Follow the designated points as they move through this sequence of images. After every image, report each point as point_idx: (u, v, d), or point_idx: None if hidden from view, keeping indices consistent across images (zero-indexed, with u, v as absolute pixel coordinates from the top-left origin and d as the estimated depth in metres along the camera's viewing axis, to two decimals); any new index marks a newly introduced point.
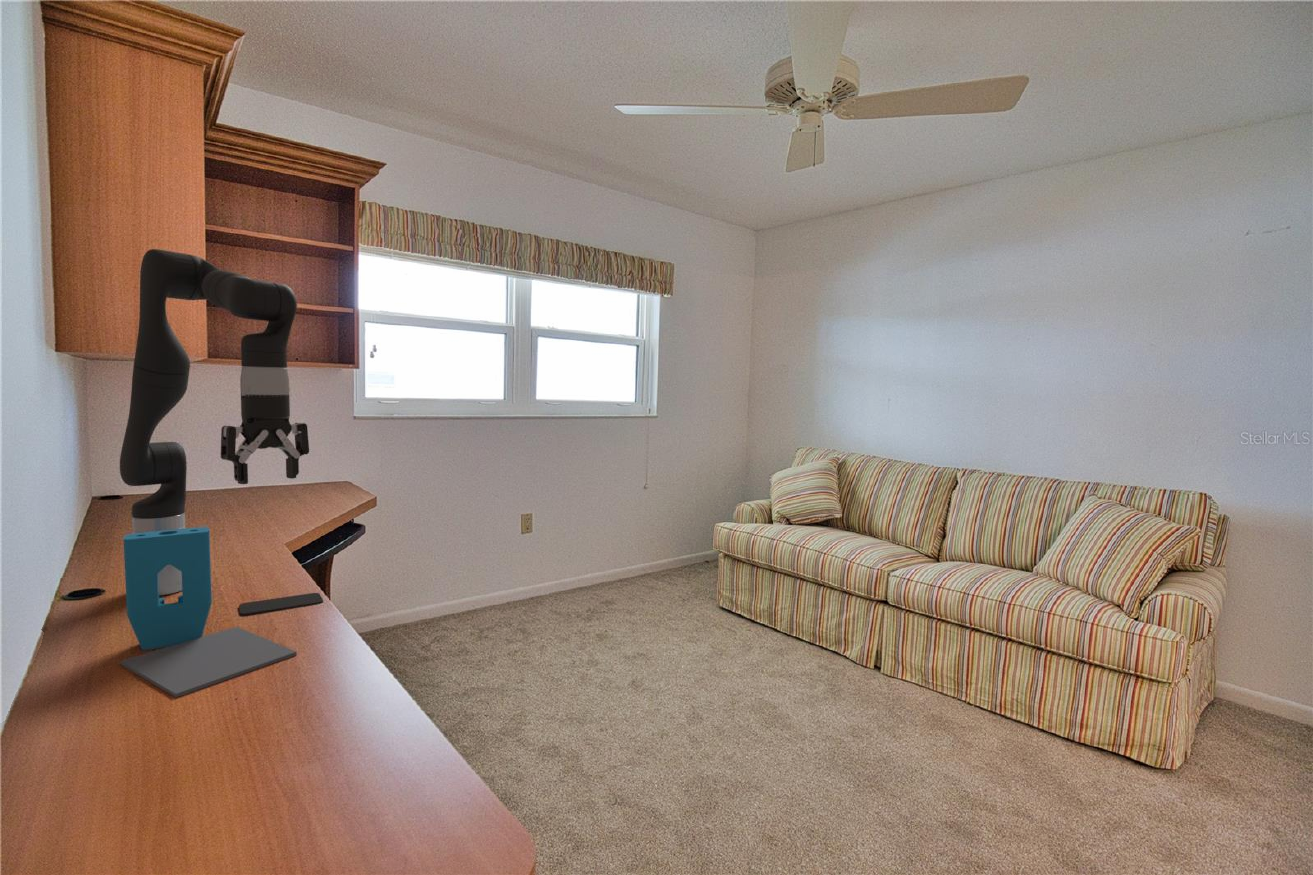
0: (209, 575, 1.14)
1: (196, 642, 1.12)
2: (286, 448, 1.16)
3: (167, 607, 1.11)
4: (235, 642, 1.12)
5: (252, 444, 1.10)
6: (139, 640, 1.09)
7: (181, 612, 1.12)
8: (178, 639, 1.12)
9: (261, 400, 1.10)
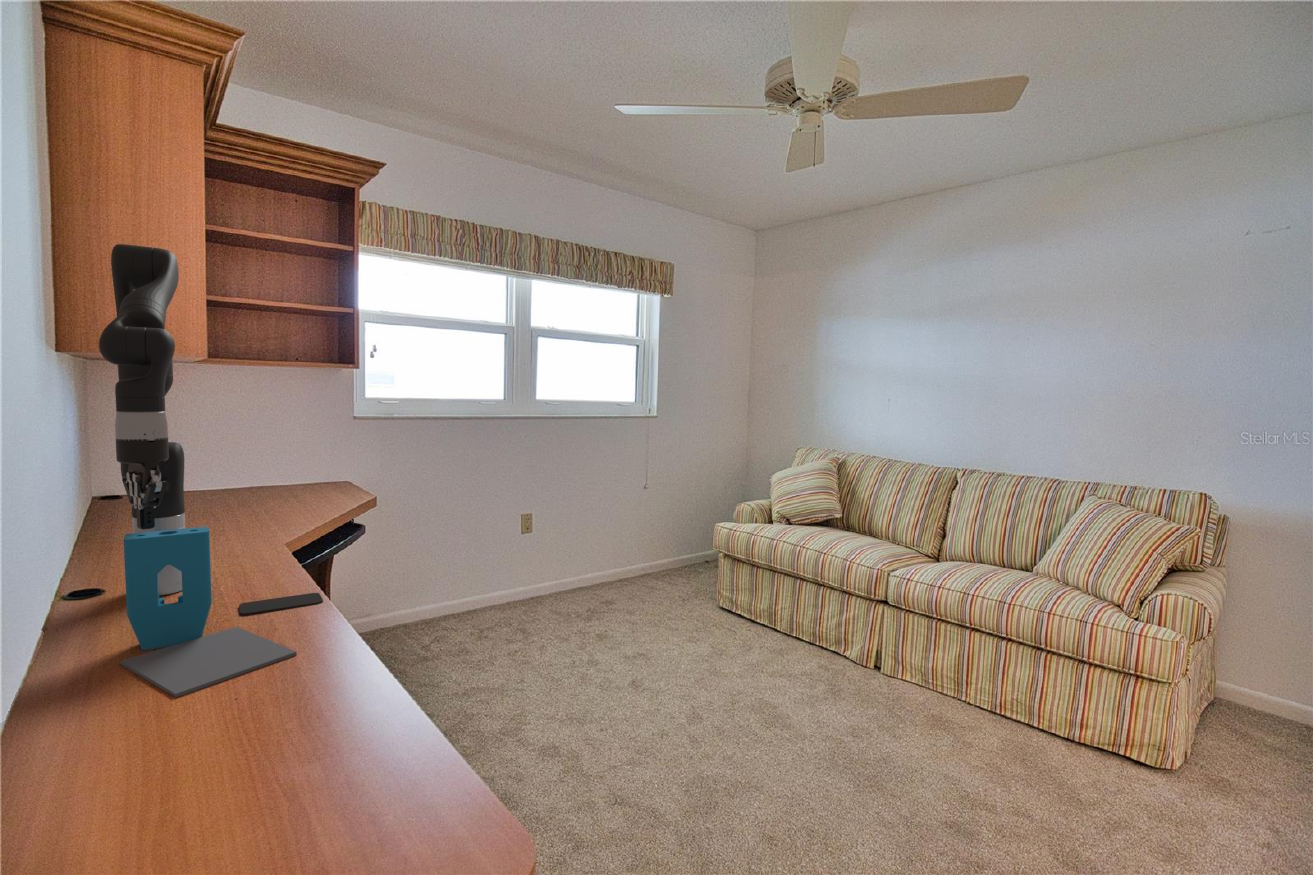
0: (209, 575, 1.14)
1: (196, 642, 1.12)
2: None
3: (167, 607, 1.11)
4: (235, 642, 1.12)
5: None
6: (139, 640, 1.09)
7: (181, 612, 1.12)
8: (178, 639, 1.12)
9: (167, 442, 1.17)
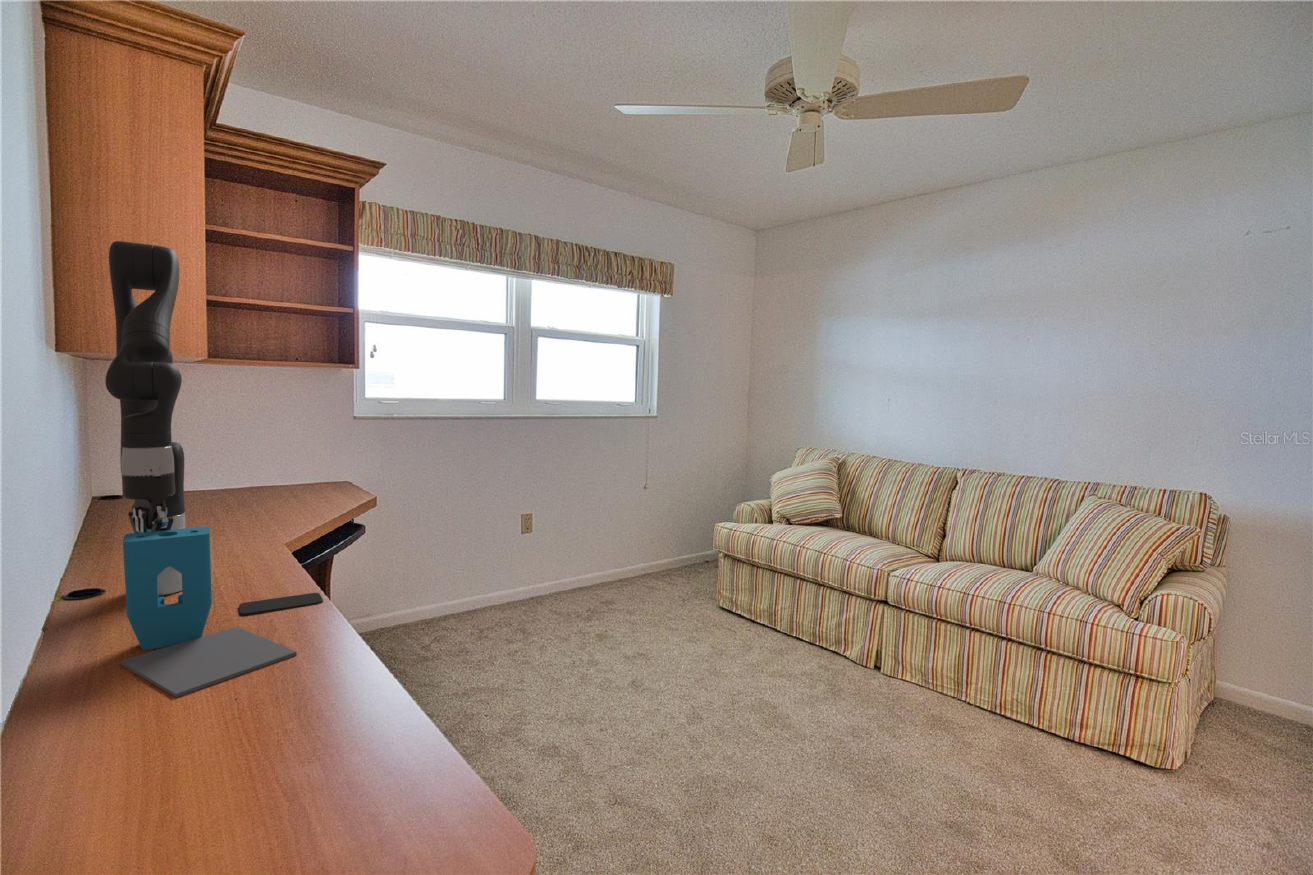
0: (209, 576, 1.14)
1: (196, 642, 1.12)
2: None
3: (167, 608, 1.10)
4: (235, 642, 1.12)
5: None
6: (139, 640, 1.09)
7: (181, 613, 1.12)
8: (178, 639, 1.12)
9: (173, 477, 1.16)
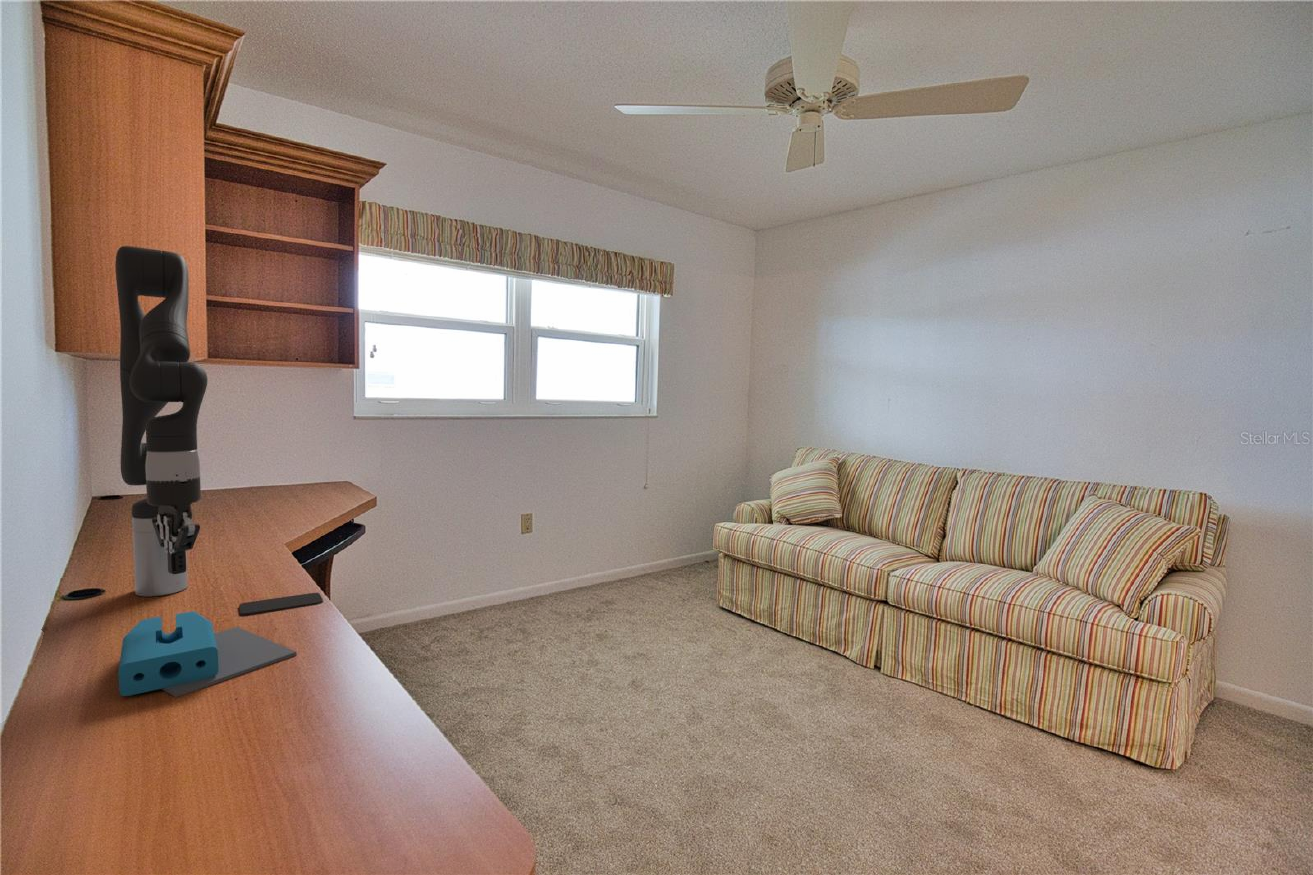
0: None
1: None
2: None
3: None
4: (235, 642, 1.12)
5: None
6: None
7: None
8: None
9: (199, 482, 1.11)
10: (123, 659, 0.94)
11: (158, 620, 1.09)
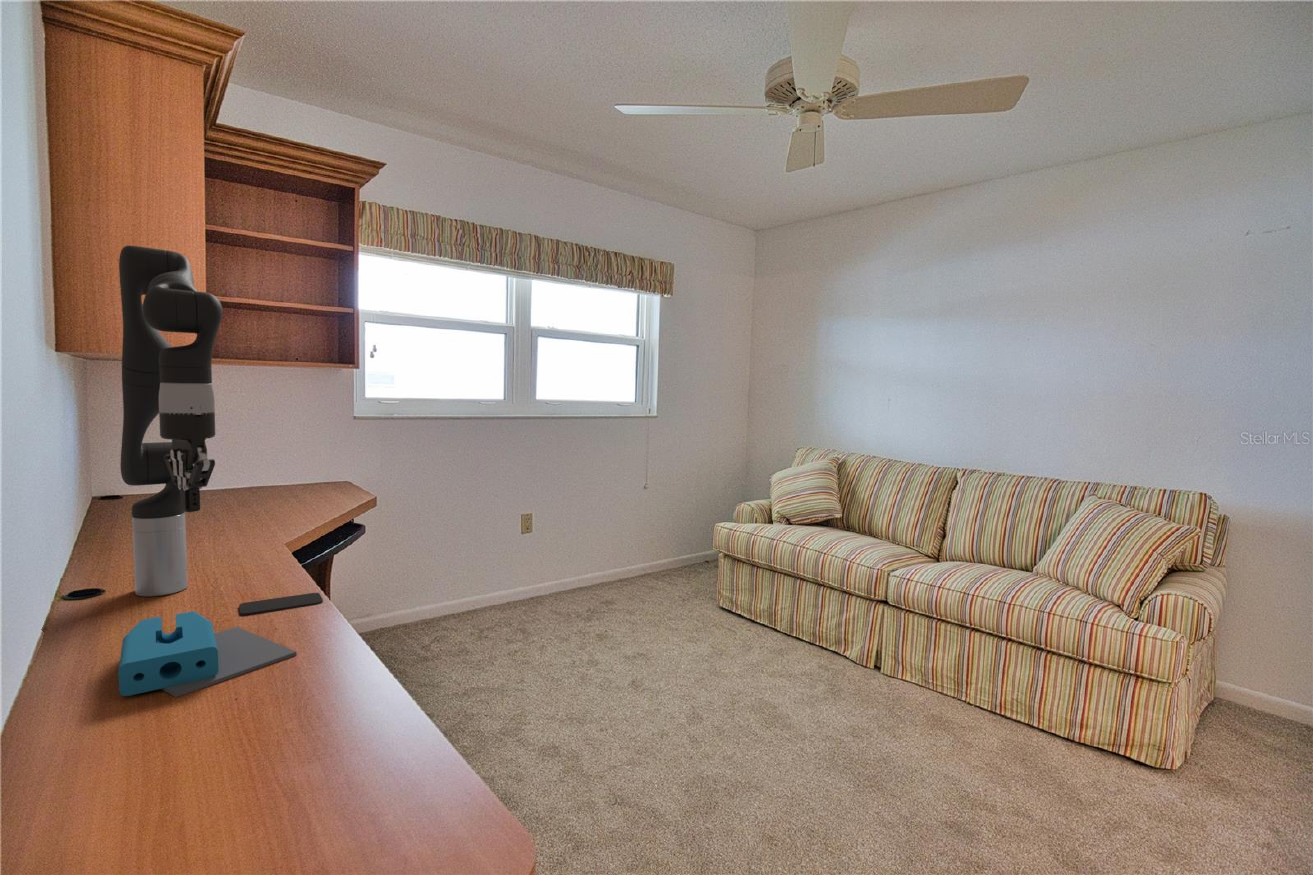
0: None
1: None
2: None
3: None
4: (235, 642, 1.12)
5: None
6: None
7: None
8: None
9: (214, 418, 1.07)
10: (123, 659, 0.94)
11: (158, 620, 1.09)
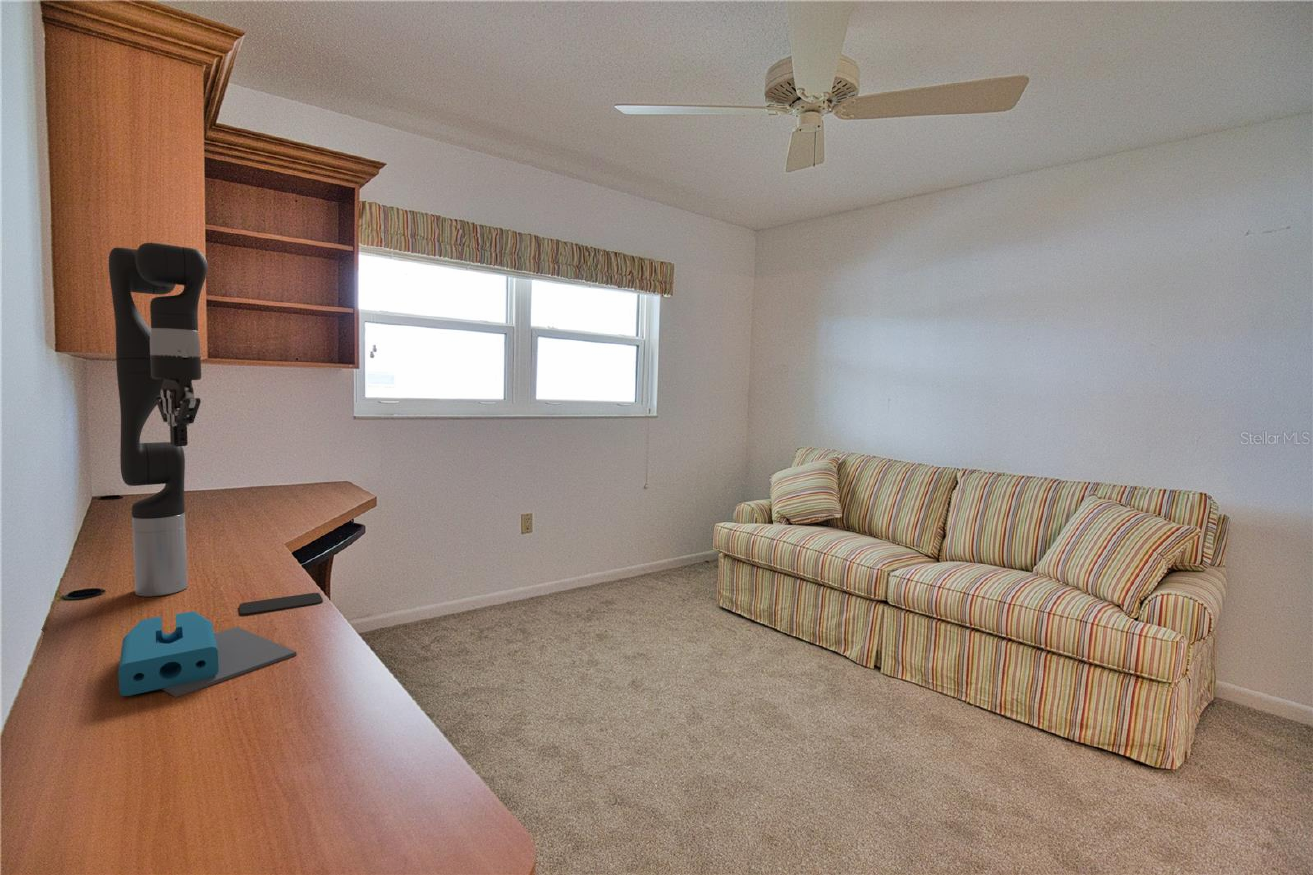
0: None
1: None
2: None
3: None
4: (235, 642, 1.12)
5: None
6: None
7: None
8: None
9: (200, 362, 1.19)
10: (123, 659, 0.94)
11: (158, 620, 1.09)
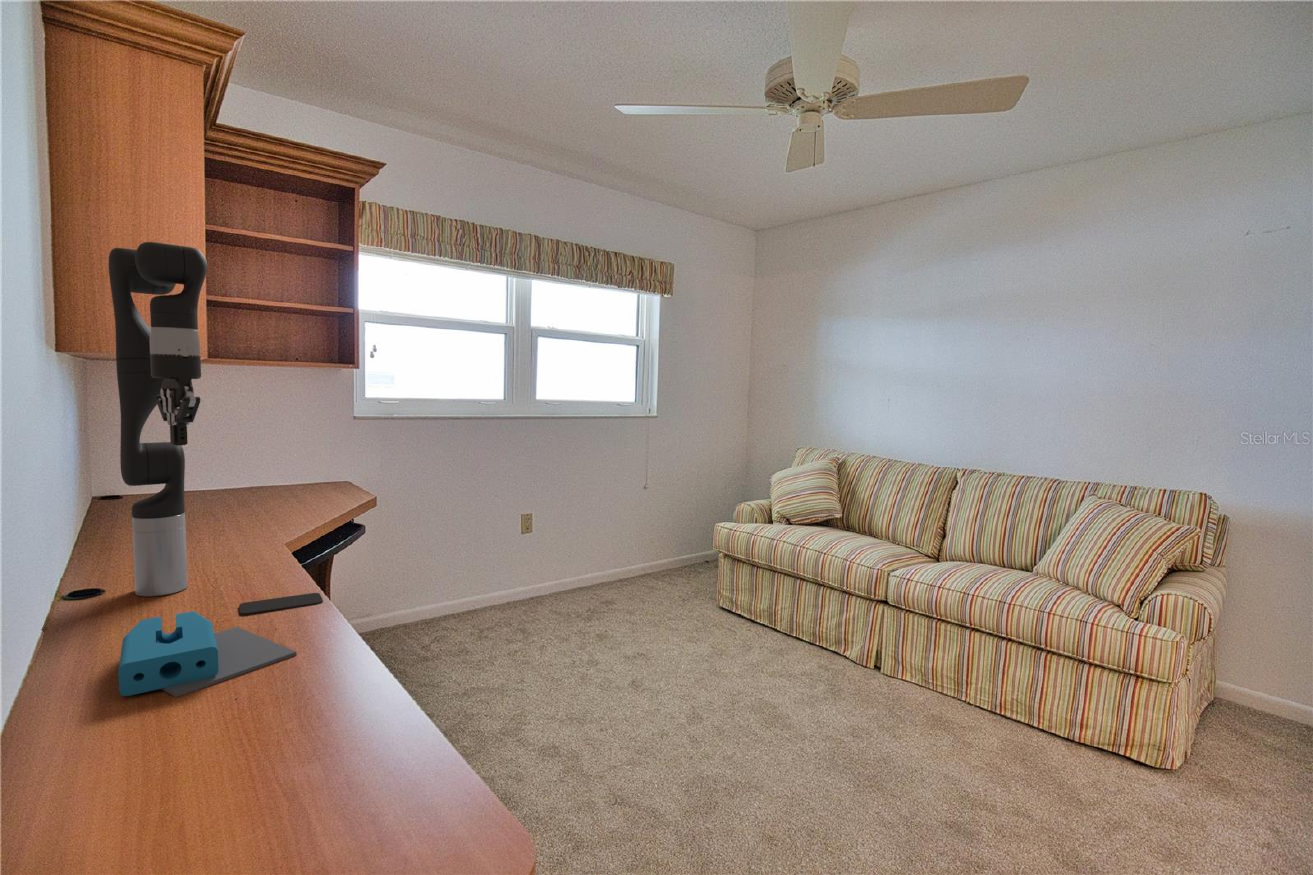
0: None
1: None
2: None
3: None
4: (235, 642, 1.12)
5: None
6: None
7: None
8: None
9: (199, 361, 1.19)
10: (123, 659, 0.94)
11: (158, 620, 1.09)
